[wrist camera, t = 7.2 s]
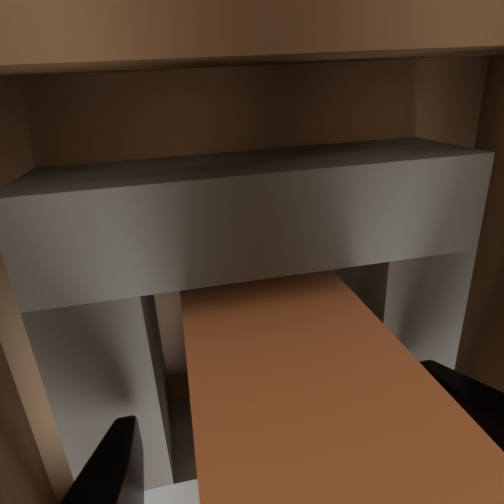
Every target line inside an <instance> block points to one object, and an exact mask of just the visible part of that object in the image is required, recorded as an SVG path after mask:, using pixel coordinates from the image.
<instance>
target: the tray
mask: <svg viewBox="0 0 504 504" xmlns="http://www.w3.org/2000/svg"><path fill="white" fill-rule="evenodd" d="M326 270H333V271H334V272H335V273H336V274H337V275H338V276H339V277H340V278H341V279H342V280H343V281H344V283H345V284H346V285H347V286H348V287H349V288H350V289H351V290H352V291H353V292H354V293H355V294H356V295H357V296H358V297H359V299H360V300H361V301H362V302H363V303H364V304H365V305H366V306H367V307H368V308H369V309H370V310H371V311H372V312H373V313H374V314H375V316H376V317H377V318H378V319H379V320H380V321H381V322H382V323H383V324H384V325H385V326H386V327H387V328H388V329H389V330H390V331H391V333H392V334H393V335H394V336H395V337H396V338H397V339H398V340H399V341H400V342H401V343H402V344H403V345H404V346H405V347H406V349H407V350H408V351H409V352H410V353H411V354H412V355H413V356H414V357H415V358H416V359H417V360H418V361H424V360H433V361H436V362H438V363H440V364H442V365H444V366H447V367H449V368H451V369H453V370H455V371H457V372H460V373H462V374H464V375H466V376H468V377H470V378H473V379H475V380H477V381H479V382H481V383H484V384H486V385H488V386H490V387H492V388H494V389H497V390H499V391H501V392H503V393H504V0H0V504H59V503H60V502H61V500H62V499H63V497H64V496H65V494H66V493H67V491H68V490H69V488H70V487H71V485H72V484H73V482H74V481H75V479H76V478H77V476H78V475H79V473H80V472H81V470H82V469H83V467H84V465H85V464H86V462H87V461H88V459H89V458H90V456H91V455H92V453H93V452H94V450H95V449H96V447H97V446H98V444H99V443H100V441H101V440H102V438H103V437H104V435H105V434H106V432H107V431H108V429H109V428H110V426H111V425H112V423H113V422H114V421H115V420H116V419H117V418H120V417H125V416H130V415H135V416H136V417H137V420H138V424H139V429H140V434H141V438H142V443H143V453H144V504H200V502H199V491H198V480H197V469H196V458H195V448H194V437H193V426H192V415H191V404H190V394H189V383H188V372H187V361H186V350H185V340H184V329H183V318H182V307H181V296H180V291H182V290H189V289H196V288H203V287H211V286H218V285H225V284H232V283H239V282H247V281H254V280H261V279H268V278H275V277H283V276H290V275H297V274H304V273H311V272H319V271H326Z"/></svg>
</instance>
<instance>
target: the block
mask: <svg viewBox="0 0 504 504" xmlns="http://www.w3.org/2000/svg"><path fill="white" fill-rule="evenodd" d="M180 296H181V307H182V318H183V329H184V340H185V350H186V361H187V372H188V383H189V394H190V404H191V415H192V426H193V437H194V448H195V458H196V469H197V480H198V491H199V502H200V504H504V452H503V451H502V450H501V448H500V447H499V446H498V445H497V444H496V443H495V442H494V441H493V440H492V439H491V438H490V437H489V436H488V435H487V434H486V433H485V431H484V430H483V429H482V428H481V427H480V426H479V425H478V424H477V423H476V422H475V421H474V420H473V419H472V418H471V417H470V416H469V414H468V413H467V412H466V411H465V410H464V409H463V408H462V407H461V406H460V405H459V404H458V403H457V402H456V401H455V400H454V399H453V397H452V396H451V395H450V394H449V393H448V392H447V391H446V390H445V389H444V388H443V387H442V386H441V385H440V384H439V383H438V381H437V380H436V379H435V378H434V377H433V376H432V375H431V374H430V373H429V372H428V371H427V370H426V369H425V368H424V367H423V366H422V364H421V363H420V362H419V361H418V360H417V359H416V358H415V357H414V356H413V355H412V354H411V353H410V352H409V351H408V350H407V349H406V347H405V346H404V345H403V344H402V343H401V342H400V341H399V340H398V339H397V338H396V337H395V336H394V335H393V334H392V333H391V331H390V330H389V329H388V328H387V327H386V326H385V325H384V324H383V323H382V322H381V321H380V320H379V319H378V318H377V317H376V316H375V314H374V313H373V312H372V311H371V310H370V309H369V308H368V307H367V306H366V305H365V304H364V303H363V302H362V301H361V300H360V299H359V297H358V296H357V295H356V294H355V293H354V292H353V291H352V290H351V289H350V288H349V287H348V286H347V285H346V284H345V283H344V281H343V280H342V279H341V278H340V277H339V276H338V275H337V274H336V273H335V272H334V271H333V270H326V271H319V272H311V273H304V274H297V275H290V276H283V277H275V278H268V279H261V280H254V281H247V282H239V283H232V284H225V285H218V286H211V287H203V288H196V289H189V290H182V291H180Z"/></svg>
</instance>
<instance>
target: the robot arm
mask: <svg viewBox="0 0 504 504" xmlns="http://www.w3.org/2000/svg"><path fill="white" fill-rule="evenodd" d="M419 362H420V363H421V364H422V366H423V367H424V368H425V369H426V370H427V371H428V372H429V373H430V374H431V375H432V376H433V377H434V378H435V379H436V380H437V381H438V383H439V384H440V385H441V386H442V387H443V388H444V389H445V390H446V391H447V392H448V393H449V394H450V395H451V396H452V397H453V399H454V400H455V401H456V402H457V403H458V404H459V405H460V406H461V407H462V408H463V409H464V410H465V411H466V412H467V413H468V414H469V416H470V417H471V418H472V419H473V420H474V421H475V422H476V423H477V424H478V425H479V426H480V427H481V428H482V429H483V430H484V431H485V433H486V434H487V435H488V436H489V437H490V438H491V439H492V440H493V441H494V442H495V443H496V444H497V445H498V446H499V447H500V448H501V450H502V451H503V452H504V393H503V392H501V391H499V390H497V389H494V388H492V387H490V386H488V385H486V384H484V383H481V382H479V381H477V380H475V379H473V378H470V377H468V376H466V375H464V374H462V373H460V372H457V371H455V370H453V369H451V368H449V367H447V366H444V365H442V364H440V363H438V362H436V361H433V360H424V361H419ZM59 504H144V453H143V443H142V438H141V434H140V429H139V424H138V420H137V417H136V416H135V415H130V416H125V417H120V418H117V419H116V420H115V421H114V422H113V423H112V425H111V426H110V428H109V429H108V431H107V432H106V434H105V435H104V437H103V438H102V440H101V441H100V443H99V444H98V446H97V447H96V449H95V450H94V452H93V453H92V455H91V456H90V458H89V459H88V461H87V462H86V464H85V465H84V467H83V469H82V470H81V472H80V473H79V475H78V476H77V478H76V479H75V481H74V482H73V484H72V485H71V487H70V488H69V490H68V491H67V493H66V494H65V496H64V497H63V499H62V500H61V502H60V503H59Z"/></svg>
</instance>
